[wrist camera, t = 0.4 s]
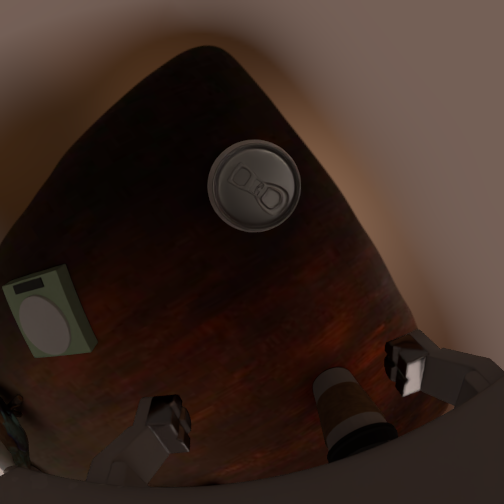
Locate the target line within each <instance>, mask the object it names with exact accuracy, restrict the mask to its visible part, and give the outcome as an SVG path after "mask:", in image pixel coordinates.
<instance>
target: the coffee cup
mask: <svg viewBox="0 0 504 504" xmlns="http://www.w3.org/2000/svg"><path fill="white" fill-rule="evenodd" d="M313 393H314V397H315V400H316V404H317V409H318V414H319V418H320V422H321V427H322V431H323V436H324V440H325V444H326V447H327V448H328V449H329V452H328V455H327V459H328V462H329V463H331V462H334V461H338V460H341V459H344V458H347V457H350V456H353V455H356V454H358V453H361V452H364V451H366V450H369V449H372V448H374V447H377V446H379V445H382V444H384V443H386V442H389V441H391V440H393V439H396V438H398V433H397V430H396V429H395V428H394V426H393V425H392V424H390V423H387V422H386V421H385V417H384V415H383V414H382V412H381V411H380V410H379V409H378V407H377V406H376V405H375V404H374V402H373V401H372V400H371V398H370V397H369V396H368V395H367V393H366V392H365V391H364V390H363V388H362V387H361V386H360V385H359V384H358V382H357V381H356V380H355V378H354V377H353V376H352V374H351V373H350V372H349V371H348V370H347V369H345V368H340V367H337V368H332V369H329V370H326V371H325V372H323V373H321V374H320V375H319V376H318V377H317V378H316V380H315V381H314V383H313Z"/></svg>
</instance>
